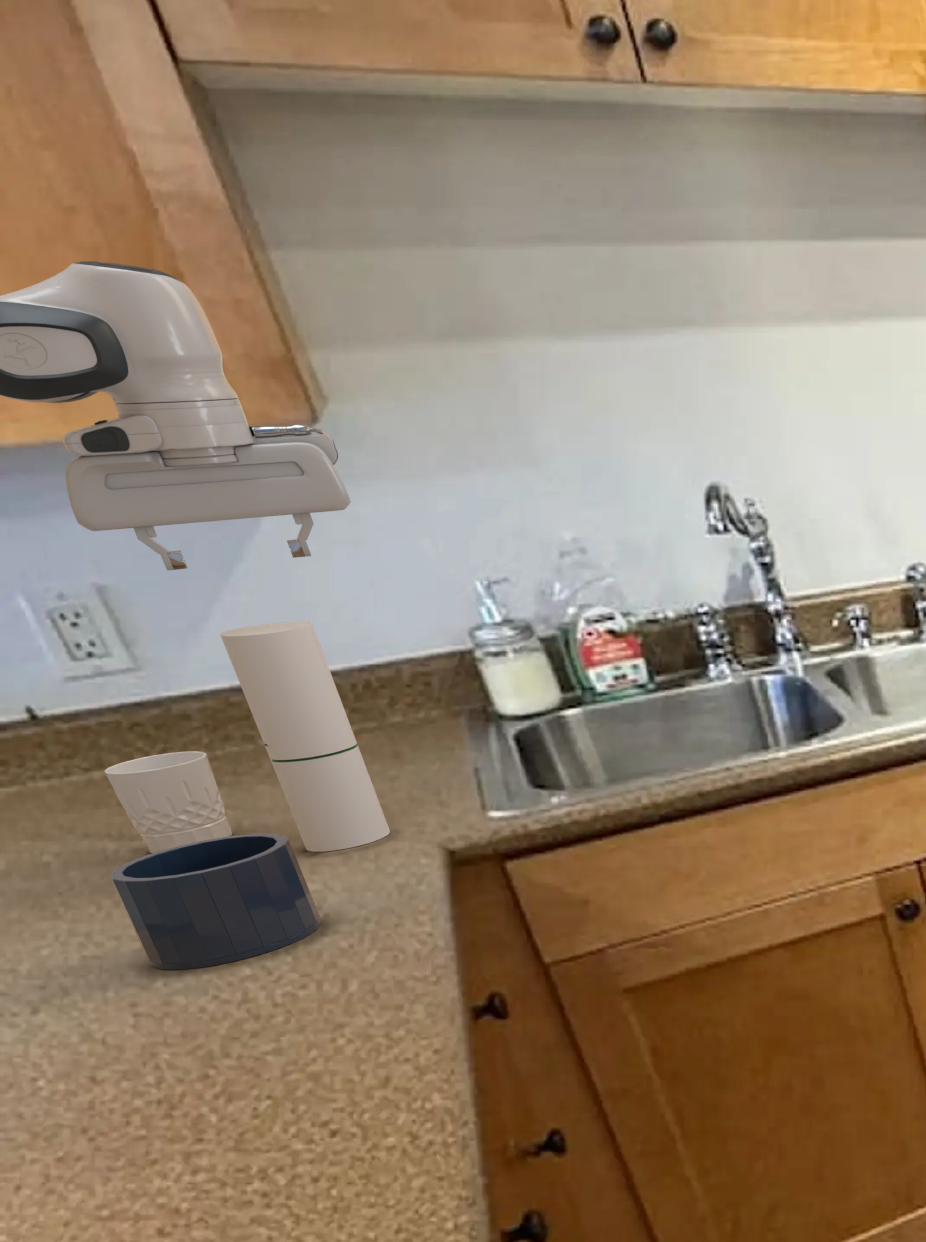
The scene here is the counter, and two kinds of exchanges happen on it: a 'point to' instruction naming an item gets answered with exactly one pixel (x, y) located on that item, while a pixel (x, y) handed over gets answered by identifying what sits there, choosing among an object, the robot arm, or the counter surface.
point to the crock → (216, 900)
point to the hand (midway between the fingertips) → (241, 562)
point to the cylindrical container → (306, 734)
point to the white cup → (170, 799)
